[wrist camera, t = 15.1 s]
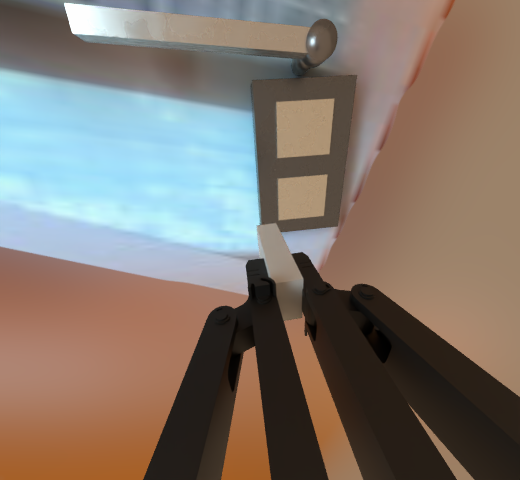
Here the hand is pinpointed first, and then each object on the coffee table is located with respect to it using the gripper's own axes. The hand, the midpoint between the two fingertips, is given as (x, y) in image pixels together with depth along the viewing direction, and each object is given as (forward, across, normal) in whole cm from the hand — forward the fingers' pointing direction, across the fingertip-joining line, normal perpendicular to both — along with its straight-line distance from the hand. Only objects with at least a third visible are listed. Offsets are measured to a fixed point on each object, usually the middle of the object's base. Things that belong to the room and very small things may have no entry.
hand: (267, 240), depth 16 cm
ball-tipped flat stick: (+16, -2, +16) cm, 23 cm away
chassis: (+21, +9, +3) cm, 23 cm away
